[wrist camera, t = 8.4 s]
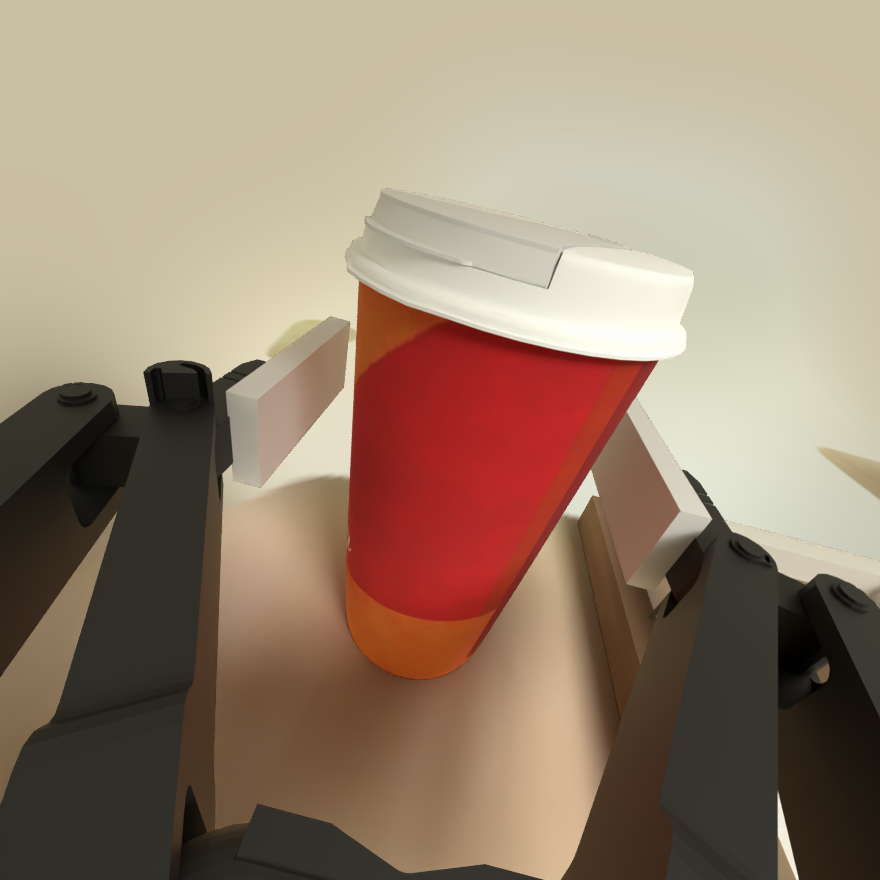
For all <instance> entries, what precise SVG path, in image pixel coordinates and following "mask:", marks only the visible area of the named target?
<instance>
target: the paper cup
mask: <svg viewBox="0 0 880 880" xmlns="http://www.w3.org/2000/svg"><path fill="white" fill-rule="evenodd" d="M365 224H366V225H365V230H364V234H363V237H358V238H356V239H354V240H353V241H352V243H351V245H350V247H349V248H348V249H347V251H346V253H345V258H346V262H347V271H348V272H349V273H350V274H351V275H353V276H354V277H355V278H356V279H358V280H359V292H358V315H357V336H356V358H355V360H356V361H355V381H354V402H353V424H352V446H351V467H350V488H349V512H348V536H347V563H346V615H347V621H348V626H349V629H350V632H351V635H352V637H353V639H354V641H355V643H356V645H357V646H358V648H359V649H360V650H361V652H362V653H363V654H364V655H365V656H366V657H367V658H368V659H369V660H370V661H371V662H372V663H373V664H375V665H376V666H378V667H379V668H381V669H382V670H384V671H386V672H388V673H390V674H393V675H395V676H399V677H402V678H407V679H415V680H426V679H433V678H437V677H441V676H444V675H446V674H449V673H450V672H452V671H454V670H456V669H457V668H459V667H460V666H461V665H462V664H463V663H465V662H466V661H467V660H468V659H469V658H470V657H471V655H472V654H473V653H474V651H475V650H476V649H477V648H478V646H479V645H480V643H481V642H482V640H483V639H484V637H485V636H486V635H487V633H488V632H489V630H490V629H491V627H492V626H493V624H494V622H495V621H496V619H497V618H498V616H499V615H500V613H501V611H502V610H503V608H504V607H505V605H506V604H507V602H508V601H509V599H510V597H511V596H512V594H513V593H514V591H515V589H516V588H517V586H518V585H519V583H520V582H521V580H522V578H523V577H524V575H525V574H526V572H527V570H528V569H529V567H530V566H531V564H532V562H533V561H534V559H535V558H536V556H537V555H538V553H539V551H540V550H541V548H542V547H543V545H544V543H545V542H546V540H547V539H548V537H549V535H550V534H551V532H552V531H553V529H554V527H555V526H556V524H557V523H558V521H559V519H560V518H561V516H562V514H563V513H564V511H565V510H566V508H567V506H568V505H569V503H570V502H571V500H572V498H573V497H574V495H575V494H576V492H577V490H578V489H579V487H580V486H581V484H582V482H583V481H584V479H585V478H586V476H587V474H588V473H589V471H590V470H591V468H592V466H593V465H594V463H595V462H596V460H597V458H598V457H599V455H600V454H601V452H602V450H603V449H604V447H605V445H606V444H607V442H608V441H609V439H610V437H611V436H612V434H613V433H614V431H615V429H616V428H617V426H618V425H619V423H620V421H621V420H622V418H623V417H624V415H625V413H626V412H627V410H628V409H629V407H630V405H631V404H632V402H633V401H634V399H635V397H636V396H637V394H638V393H639V391H640V389H641V388H642V386H643V385H644V383H645V381H646V380H647V378H648V376H649V375H650V373H651V372H652V370H653V369H654V367H655V365H656V364H657V362H658V361H659V360H666V359H670V358H673V357H677V356H679V355H680V354H681V353H682V352H683V351H684V350H685V348H686V331H685V330H684V328H683V326H681V325H680V324H679V323H680V320H681V318H682V315H683V313H684V310H685V307H686V305H687V302H688V299H689V296H690V294H691V291H692V288H693V284H694V277H693V274H694V272H692V271H691V270H690V269H687V268H685V267H683V266H681V265H678V264H676V263H674V262H671V261H668V260H665V259H662V258H660V257H657V256H654V255H651V254H648V253H643V252H637V251H632V250H630V249H628V248H627V247H626V246H625V245H623V244H619V243H617V242H613V241H610V240H607V239H603V238H600V237H597V236H593V235H590V234H589V235H587V236H585V235H582V234H579V233H577V232H576V231H572V230H569V229H565V228H562V227H558V226H554V225H551V224H547V223H543V222H539V221H535V220H532V219H528V218H524V217H521V216H516V215H513V214H509V213H505V212H500V211H496V210H493V209H488V208H485V207H480V206H476V205H472V204H467V203H463V202H459V201H455V200H450V199H445V198H440V197H436V196H431V195H426V194H421V193H416V192H410V191H404V190H397V189H389V188H386V189H382V190H381V193H380V198H379V200H378V202H377V204H376V207H375V209H374V211H373V214H372V216H365Z"/></svg>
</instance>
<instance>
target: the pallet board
mask: <svg viewBox="0 0 880 880" xmlns="http://www.w3.org/2000/svg"><path fill="white" fill-rule="evenodd" d="M725 522H726V523H727V525H728V526H729V528H730V529H731V531H732V532H734V533H738V534H740V535H743V536H745V537H747V538H749V539H751V540H752V541H754V542H755V543H757V544H758V545H760V546H761V547H762V548H763V549H764V550H766V551H767V552H768V553H769V554H770V555H771V557H772V558H773V559H774V560H775V562H776V565H777V568H778V572H780V573H782V574H784V575H786V576H788V577H790V578H793V579H795V580H797V581H799V582H801V583H803V584H807V583H808V582H810V581H811V580H812V579H813V578H814V577H815V576H816V575H817V574H829V575H832V576H835V577H838V578H840V579H842V580H844V581H846V582H849V583H851V584H853V585H855V586H856V588H857V589H858V588H859V589H861V590H862V591H863V592H865V593H866V595H867V596H868V597H869V598H870V599H871V600H872V601H873V602H875V603H876V605H877V606H878V607H879V608H880V561H879V560H875V559H871V558H868V557H864V556H860V555H856V554H852V553H849V552H845V551H840V550H837V549H833V548H829V547H825V546H822V545H818V544H814V543H811V542H807V541H802V540H799V539H795V538H791V537H788V536H784V535H780V534H776V533H772V532H769V531H765V530H761V529H757V528H753V527H750V526H746V525H742V524H738V523H734V522H731V521H727V520H725ZM578 524H579V529H580V534H581V538H582V543H583V548H584V552H585V557H586V562H587V566H588V571H589V576H590V580H591V585H592V590H593V594H594V599H595V604H596V608H597V613H598V618H599V622H600V627H601V632H602V636H603V641H604V646H605V650H606V655H607V660H608V664H609V669H610V674H611V678H612V683H613V687H614V692H615V697H616V701H617V706H618V711H619V715H620V720H622V717H623V714H624V711H625V709H626V706H627V703H628V700H629V697H630V694H631V691H632V688H633V685H634V682H635V679H636V676H637V673H638V670H639V667H640V665H641V662H642V659H643V656H644V653H645V650H646V647H647V644H648V641H649V638H650V635H651V632H652V629H653V626H654V623H655V620H656V618H657V616H655V617H654V618H653V619H650V618H649V617H648V616H649V615H650V614H651V613H652V612H653V611H654V609H655V608H656V607H657V606H658V605H659V604H660V602H661V601H662V600H663V599H664V598H665V596H666V595H667V594H668V593H669V592H670V591H671V588H670V586H669V584H668V581H667V579H666V577H665V578H664V579H663V580H662V581H661V583H660V584H659V585H658V586H657V588H656V589H655V590H654V591H651V590H647V589H643V588H639V587H635V586H632V585H628V584H626V582H625V579H624V576H623V572H622V569H621V566H620V562H619V559H618V556H617V552H616V549H615V546H614V543H613V539H612V536H611V533H610V529H609V526H608V523H607V519H606V516H605V513H604V510H603V506H602V503H601V500H600V497H596V496H592V497H591V499H590V501H589V503H588V504H587V506H586V508H585V510H584V512H583V513H582V515H581V517H580V519H579V520H578ZM829 670H830V668H829V664H827V665H826V666H825V667H823V668H822V669H820V670H819V671H817V674H818V677H819V679H820V682H821V683H824V682H826V681H827V679H828V677H829ZM778 880H799V878H798V874H797V870H796V866H795V861H794V857H793V853H792V849H791V844H790V840H789V836H788V832H787V827H786V823H785V819H784V815H783V810H782V806H781V802H780V798H779V793H778Z"/></svg>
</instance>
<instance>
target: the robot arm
mask: <svg viewBox="0 0 880 880" xmlns="http://www.w3.org/2000/svg"><path fill="white" fill-rule="evenodd" d="M349 327H350V322H349V321H345V320H342V319H337V318H334V317H329V318H327V319H326V320H325V321H323V322H322V323H320V324H319V325H318V326H316V327H315V328H313V329H312V330H311V331H309V332H308V333H306V334H305V335H304V336H302V337H301V338H299V339H298V340H297V341H295V342H294V343H292V344H291V345H290V346H288V347H287V348H285V349H284V350H283V351H281V352H280V353H279V354H277V355H276V356H274V357H273V358H272V359H270V360H269V361H267V362H265V361H261V360H254V361H250V362H246V363H243V364H241V365H239V366H238V367H236V368H235V369H233V370H232V371H231V372H229V373H227V374H226V375H224V376H223V378H219V379H218V380H216V381H215V382H212V373H211V371H210V369H209V368H208V367H206V366H205V365H202V364H200V363H196V362H192V361H182V360H181V361H180V360H179V361H166V362H161V363H156V364H154V365H152V366H150V367H148V368H147V369H146V370H145V371H144V378H145V383H146V387H147V392H148V397H149V402H150V406H149V407H144V406H130V405H117V403H116V399H115V395H114V393H113V391H112V389H110V388H108V387H106V386H104V385H99V384H94V383H83V382H80V383H79V382H78V383H74V384H73V383H69V384H64V385H62V386H58V387H55V388H51V389H49V390H47V391H45V392H43V393H42V394H40V395H39V396H38V397H36V398H35V399H33V400H32V401H31V402H29V403H28V404H26V405H25V406H24V407H23V408H21V409H20V410H18V411H17V412H16V413H14V414H13V415H11V416H10V417H9V418H7V419H6V420H5V421H3V422H2V423H1V424H0V677H1V675H2V674H3V672H4V671H5V670H6V668H7V667H8V665H9V664H10V663H11V661H12V660H13V658H14V657H15V655H16V654H17V653H18V651H19V650H20V648H21V647H22V646H23V644H24V643H25V641H26V640H27V638H28V637H29V636H30V634H31V633H32V631H33V630H34V629H35V627H36V626H37V624H38V623H39V621H40V620H41V619H42V617H43V616H44V614H45V613H46V611H47V610H48V609H49V607H50V606H51V604H52V603H53V602H54V600H55V599H56V597H57V596H58V594H59V593H60V592H61V590H62V589H63V587H64V586H65V585H66V583H67V582H68V580H69V579H70V577H71V576H72V575H73V573H74V572H75V570H76V569H77V568H78V566H79V565H80V563H81V562H82V560H83V559H84V558H85V556H86V555H87V553H88V552H89V550H90V549H91V548H92V546H93V545H94V543H95V542H96V541H97V539H98V538H99V536H100V535H101V533H102V532H103V531H104V529H105V528H106V526H107V525H108V524H109V522H110V521H111V519H112V518H113V516H114V515H115V514H116V512H117V515H116V518H115V521H114V525H113V528H112V531H111V534H110V538H109V541H108V544H107V548H106V551H105V554H104V558H103V561H102V564H101V567H100V571H99V574H98V577H97V581H96V584H95V587H94V591H93V594H92V597H91V600H90V604H89V607H88V610H87V614H86V617H85V620H84V624H83V627H82V630H81V633H80V637H79V640H78V643H77V647H76V650H75V653H74V657H73V660H72V663H71V666H70V670H69V673H68V676H67V680H66V683H65V686H64V690H63V693H62V696H61V699H60V703H59V705H58V708H57V710H56V713H55V715H54V717H53V718H52V720H51V721H50V722H49V723H48V724H46V725H44V726H43V727H41V728H39V729H37V730H36V731H34V732H33V733H32V735H31V736H30V737H29V739H28V740H27V742H26V743H25V744H24V746H23V747H22V750H21V752H20V754H19V757H18V759H17V761H16V764H15V766H14V768H13V771H12V773H11V776H10V779H9V782H8V785H7V788H6V791H5V794H4V797H3V800H2V803H1V805H0V880H542V879H539V878H535V877H531V876H527V875H524V874H520V873H516V872H512V871H509V870H505V869H501V868H497V867H493V866H490V865H486V864H483V865H475V866H467V867H459V868H451V869H443V870H435V871H427V872H418V873H403V872H401V871H398V870H397V869H395V868H394V867H392V866H391V865H389V864H388V863H387V862H385V861H384V860H382V859H381V858H380V857H378V856H377V855H375V854H374V853H372V852H371V851H370V850H368V849H367V848H365V847H364V846H362V845H361V844H360V843H358V842H357V841H355V840H354V839H353V838H351V837H350V836H348V835H347V834H345V833H344V832H343V831H341V830H340V829H338V828H337V827H335V826H334V825H333V824H331V823H328V822H324V821H320V820H316V819H312V818H309V817H305V816H301V815H297V814H294V813H290V812H286V811H282V810H279V809H275V808H271V807H267V806H263V805H260V804H257V806H256V809H255V811H254V813H253V816H252V818H251V821H250V823H246V824H236V825H232V826H228V827H224V828H220V829H217V830H215V786H214V731H215V703H216V674H217V646H218V618H219V590H220V562H221V534H222V506H223V478H222V473H223V472H224V471H225V470H226V469H227V468H228V467H229V466H230V465H231V464H232V470H233V480H234V481H236V482H240V483H244V484H248V485H252V486H256V487H259V488H261V487H262V485H263V484H264V483H265V482H266V481H267V480H268V478H269V477H270V476H271V475H272V474H273V472H274V471H275V470H276V469H277V467H278V466H279V465H280V464H281V463H282V461H283V460H284V459H285V458H286V457H287V455H288V454H289V453H290V451H292V449H293V448H294V447H295V446H296V444H297V443H298V442H299V441H300V440H301V438H302V437H303V436H304V435H305V434H306V432H307V431H308V430H309V429H310V428H311V426H312V425H313V424H314V422H315V421H316V420H317V419H318V418H319V417H320V415H321V414H322V413H323V412H324V411H325V409H326V408H327V407H328V406H329V404H330V403H331V402H332V401H333V400H334V398H335V397H336V396H337V395H338V394H339V392H340V391H341V390H342V389H343V388H344V381H345V369H346V359H347V348H348V338H349ZM591 470H592V473H593V477H594V480H595V483H596V486H597V490H598V493H599V496H600V500H601V503H602V506H603V510H604V513H605V516H606V519H607V523H608V526H609V529H610V533H611V536H612V539H613V543H614V546H615V549H616V552H617V556H618V559H619V562H620V566H621V569H622V572H623V576H624V579H625V582H626V584H628V585H632V586H635V587H639V588H643V589H647V590H651V591H654V590H655V589H656V588H657V586H658V585H659V584H660V583H661V581H662V580H663V579H664V578H665V577H666V579H667V581H668V584H669V586H670V588H671V591H670V592H669V593H668V594H667V595H666V596H665V598H664V599H663V600H662V601H661V602H660V604H659V605H658V606H657V607H656V608H655V609H654V611H653V612H652V613H651V614H650V615H649V616H648V617H649V618H650V619H653V618H654V617H655V616H657V618H656V620H655V623H654V626H653V629H652V632H651V635H650V638H649V641H648V644H647V647H646V650H645V653H644V656H643V659H642V662H641V665H640V667H639V670H638V673H637V676H636V679H635V682H634V685H633V688H632V691H631V694H630V697H629V700H628V703H627V706H626V709H625V711H624V714H623V717H622V720H621V723H620V726H619V729H618V732H617V735H616V738H615V741H614V744H613V747H612V750H611V753H610V755H609V758H608V761H607V764H606V767H605V770H604V773H603V776H602V779H601V782H600V785H599V788H598V791H597V794H596V797H595V800H594V802H593V805H592V808H591V811H590V814H589V817H588V820H587V823H586V826H585V829H584V832H583V835H582V838H581V841H580V844H579V846H578V849H577V852H576V854H575V857H574V859H573V861H572V863H571V865H570V867H569V868H568V870H567V871H566V873H565V874H564V876H563V877H562V879H561V880H778V793H779V798H780V802H781V806H782V810H783V815H784V819H785V823H786V827H787V832H788V836H789V840H790V844H791V849H792V853H793V857H794V861H795V866H796V870H797V874H798V878H799V880H880V608H879V607H878V606H877V605H876V603H875V602H873V601H872V600H871V599H870V598H869V597H868V596H867V595H866V593H865V592H863V591H862V590H861V589H859V588H858V589H857V588H856V586H855V585H853V584H851V583H849V582H846V581H844V580H842V579H840V578H838V577H835V576H832V575H829V574H817V575H816V576H815V577H814V578H813V579H812V580H811V581H810V582H808V583H807V584H803V583H801V582H799V581H797V580H795V579H793V578H790V577H788V576H786V575H784V574H782V573H780V572H778V568H777V565H776V562H775V560H774V559H773V558H772V557H771V555H770V554H769V553H768V552H767V551H766V550H764V549H763V548H762V547H761V546H760V545H758V544H757V543H755V542H754V541H752V540H751V539H749V538H747V537H745V536H743V535H740V534H738V533H734V532H732V531H731V529H730V528H729V526H728V525H727V523H726V522H725V520H724V519H723V517H722V516H721V514H720V513H719V511H718V510H717V508H716V507H715V506H713V502H712V501H711V499H710V498H709V496H707V493H706V492H705V490H704V489H703V487H702V485H701V484H700V483H699V482H698V481H697V480H696V479H695V478H694V477H693V476H692V475H691V474H689V473H688V472H687V471H685V470H681V468H680V467H679V465H678V463H677V462H676V460H675V459H674V457H673V455H672V454H671V452H670V451H669V449H668V447H667V446H666V444H665V443H664V441H663V439H662V438H661V436H660V435H659V433H658V431H657V430H656V428H655V427H654V425H653V423H652V422H651V420H650V419H649V417H648V415H647V414H646V412H645V411H644V409H643V408H642V406H641V404H640V403H639V401H638V399H637V398H636V397H635V399H634V401H633V402H632V404H631V405H630V407H629V409H628V410H627V412H626V413H625V415H624V417H623V418H622V420H621V421H620V423H619V425H618V426H617V428H616V429H615V431H614V433H613V434H612V436H611V437H610V439H609V441H608V442H607V444H606V445H605V447H604V449H603V450H602V452H601V454H600V455H599V457H598V458H597V460H596V462H595V463H594V465H593V466H592V468H591ZM827 664H829V668H830V670H829V677H828V679H827V681H826V682H824V683H821V682H820V679H819V677H818V674H817V671H819V670H820V669H822V668H823V667H825V666H826V665H827Z"/></svg>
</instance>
